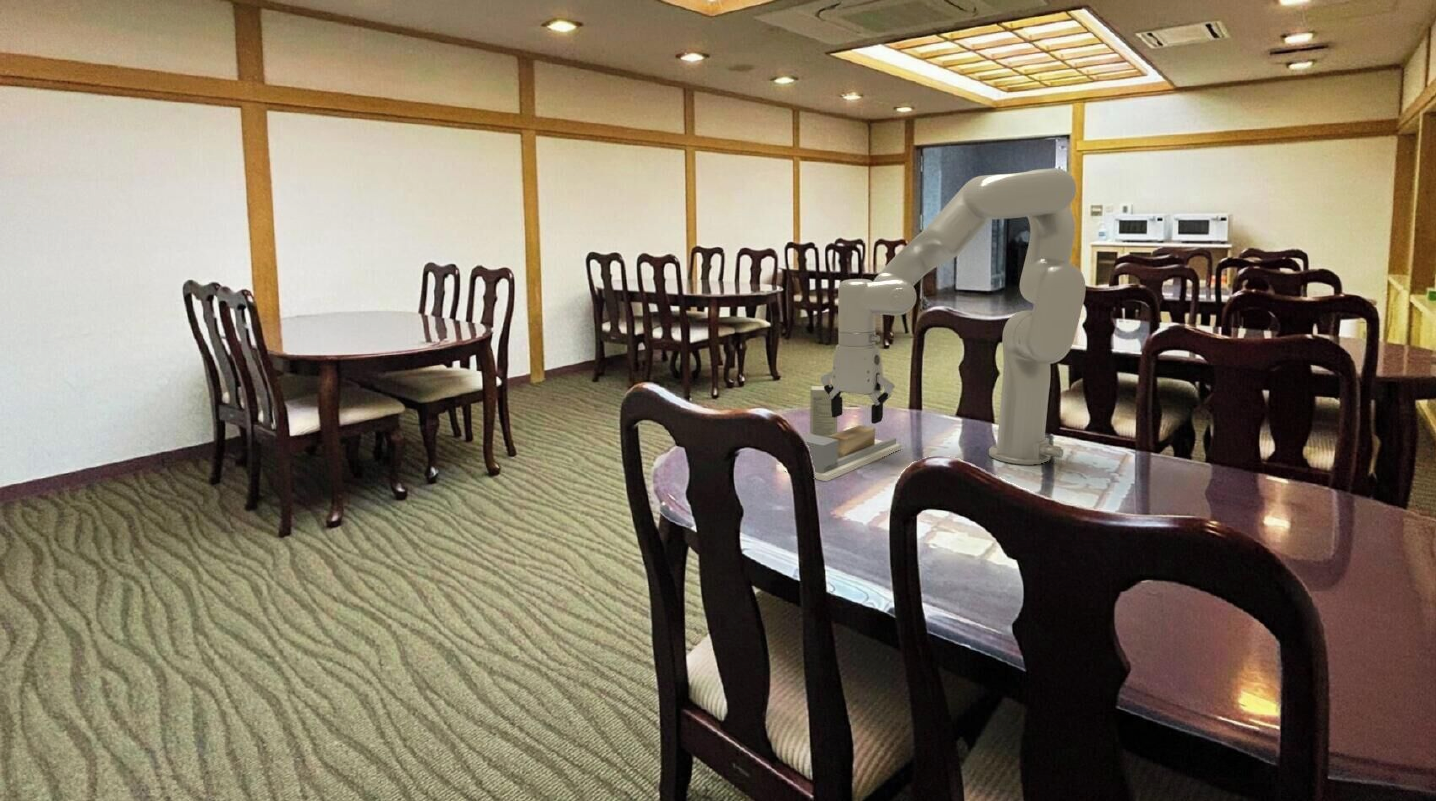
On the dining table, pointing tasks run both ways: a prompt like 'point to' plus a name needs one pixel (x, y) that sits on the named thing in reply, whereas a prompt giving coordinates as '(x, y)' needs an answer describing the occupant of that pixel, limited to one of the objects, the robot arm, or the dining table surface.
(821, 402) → the skincare box
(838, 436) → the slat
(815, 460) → the board
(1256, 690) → the dining table surface
